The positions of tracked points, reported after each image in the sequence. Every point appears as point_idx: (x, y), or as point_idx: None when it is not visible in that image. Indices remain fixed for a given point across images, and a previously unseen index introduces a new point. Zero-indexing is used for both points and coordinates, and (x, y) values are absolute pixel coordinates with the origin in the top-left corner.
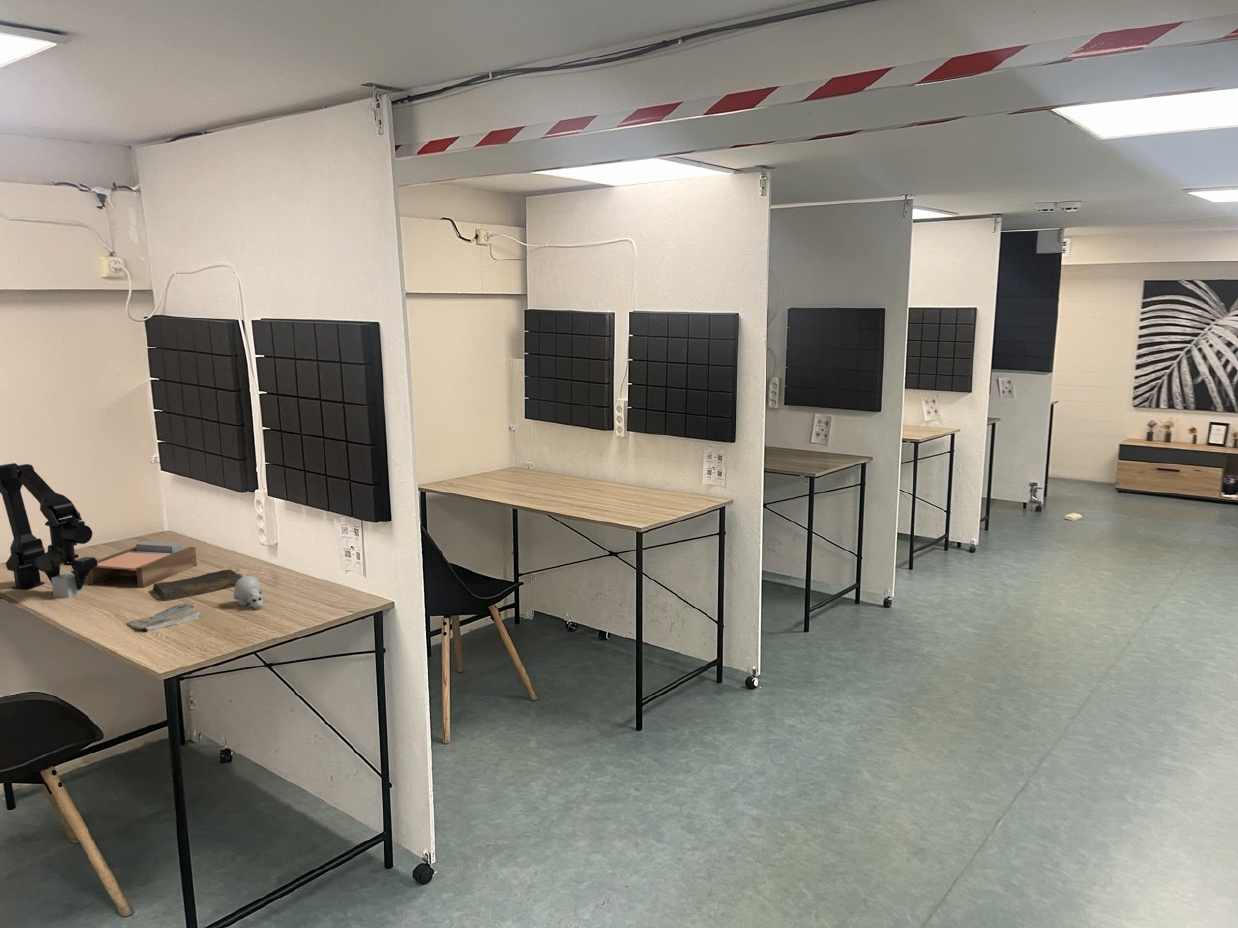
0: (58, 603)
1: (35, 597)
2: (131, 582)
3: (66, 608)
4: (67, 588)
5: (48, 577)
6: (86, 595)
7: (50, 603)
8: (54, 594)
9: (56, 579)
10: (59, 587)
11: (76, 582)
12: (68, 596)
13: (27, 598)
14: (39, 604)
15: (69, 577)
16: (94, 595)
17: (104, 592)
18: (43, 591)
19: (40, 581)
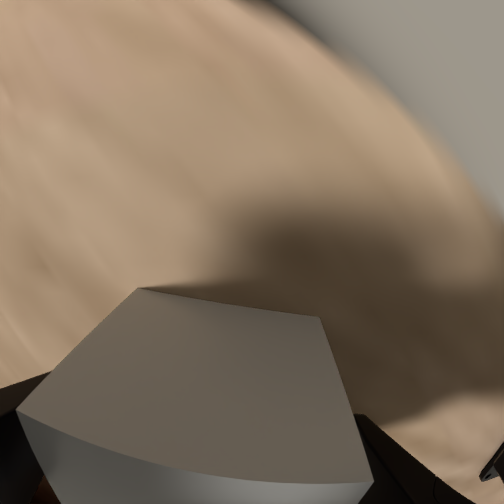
0: (110, 108)
1: (460, 271)
2: (52, 490)
3: (7, 41)
4: (97, 331)
5: (446, 488)
6: (49, 336)
7: (187, 94)
8: (306, 323)
9: (247, 457)
10: (218, 360)
11: (17, 398)
12: (134, 291)
13: (500, 241)
14: (284, 57)
15: (54, 469)
16: (9, 330)
17: (12, 382)
18: (456, 401)
19: (497, 470)
